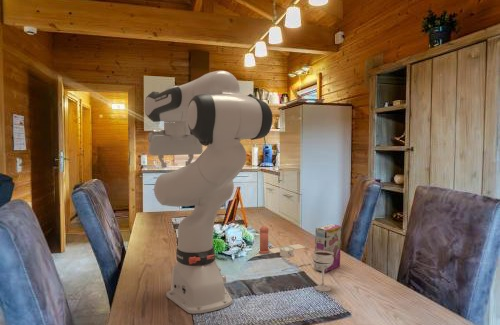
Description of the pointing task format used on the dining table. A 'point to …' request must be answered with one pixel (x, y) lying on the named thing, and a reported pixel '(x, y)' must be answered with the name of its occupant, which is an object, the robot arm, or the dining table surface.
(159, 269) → the dining table surface
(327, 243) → the candy bar box
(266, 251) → the pawn
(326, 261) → the wineglass
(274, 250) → the track board
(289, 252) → the die
